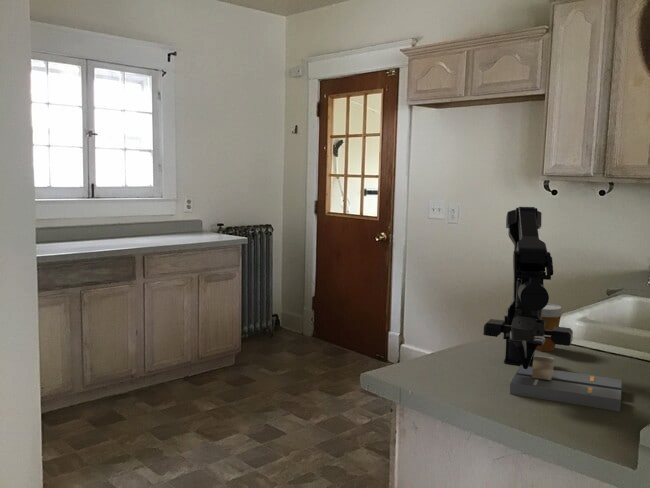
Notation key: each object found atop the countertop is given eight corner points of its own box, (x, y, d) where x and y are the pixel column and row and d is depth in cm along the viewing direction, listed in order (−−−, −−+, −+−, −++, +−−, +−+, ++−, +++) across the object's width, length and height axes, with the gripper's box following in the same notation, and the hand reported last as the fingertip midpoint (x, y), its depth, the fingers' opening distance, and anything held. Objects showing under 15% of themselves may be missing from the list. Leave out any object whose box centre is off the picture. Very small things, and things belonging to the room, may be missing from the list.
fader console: (509, 393, 135) (510, 382, 135) (519, 375, 148) (520, 364, 148) (620, 411, 126) (621, 399, 126) (620, 390, 138) (621, 379, 138)
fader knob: (531, 385, 138) (533, 360, 137) (534, 379, 142) (535, 355, 141) (550, 388, 136) (551, 362, 136) (552, 382, 140) (553, 358, 139)
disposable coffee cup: (560, 345, 174) (562, 304, 173) (561, 354, 165) (563, 311, 164) (524, 342, 177) (526, 301, 176) (524, 351, 168) (526, 308, 167)
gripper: (479, 303, 135) (476, 372, 137) (570, 313, 127) (565, 386, 129) (490, 295, 145) (487, 359, 147) (574, 303, 137) (570, 371, 139)
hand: (525, 368), depth 140 cm, fingers closed
